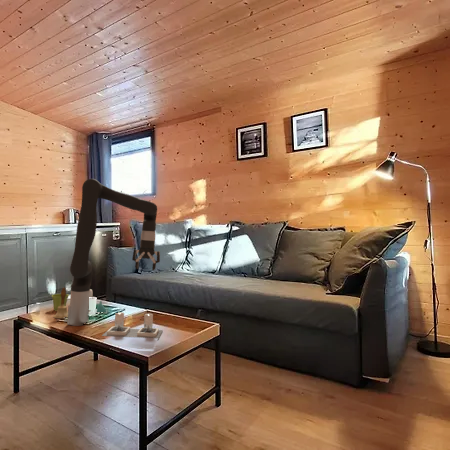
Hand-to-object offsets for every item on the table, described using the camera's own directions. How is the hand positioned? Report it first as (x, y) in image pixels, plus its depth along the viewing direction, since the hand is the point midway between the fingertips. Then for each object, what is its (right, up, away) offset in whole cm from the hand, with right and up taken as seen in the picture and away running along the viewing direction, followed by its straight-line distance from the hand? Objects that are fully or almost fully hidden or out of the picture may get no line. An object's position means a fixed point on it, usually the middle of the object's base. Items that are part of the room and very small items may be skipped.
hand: (145, 269), depth 188 cm
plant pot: (-56, -27, +21) cm, 65 cm away
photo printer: (-44, -27, +26) cm, 58 cm away
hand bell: (-48, -27, +6) cm, 55 cm away
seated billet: (-8, -27, -21) cm, 35 cm away
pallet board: (-1, -29, -21) cm, 35 cm away
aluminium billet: (+6, -28, -20) cm, 35 cm away
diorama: (-27, -29, +17) cm, 42 cm away
